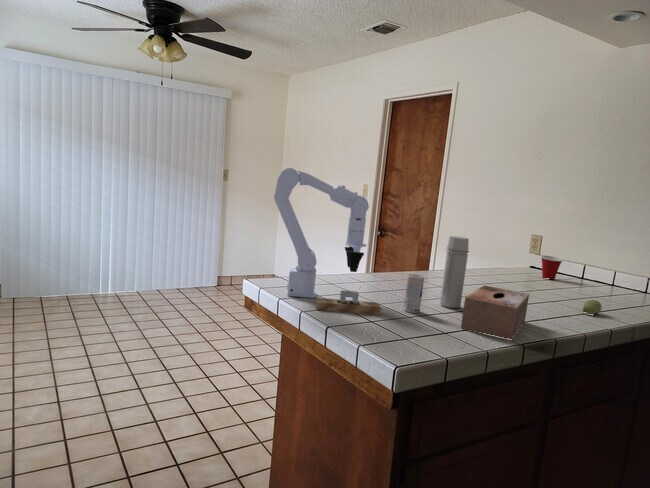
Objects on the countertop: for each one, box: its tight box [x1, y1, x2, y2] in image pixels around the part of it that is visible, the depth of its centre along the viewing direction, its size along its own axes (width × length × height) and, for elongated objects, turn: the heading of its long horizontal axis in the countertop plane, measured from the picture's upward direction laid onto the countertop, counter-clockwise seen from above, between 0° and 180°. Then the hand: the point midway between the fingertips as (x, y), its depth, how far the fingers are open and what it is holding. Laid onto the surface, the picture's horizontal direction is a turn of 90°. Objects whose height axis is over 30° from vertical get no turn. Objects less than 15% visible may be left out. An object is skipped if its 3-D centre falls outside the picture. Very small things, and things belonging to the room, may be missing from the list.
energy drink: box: [403, 273, 425, 314], centre depth 149 cm, size 5×5×12 cm
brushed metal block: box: [339, 289, 360, 305], centre depth 143 cm, size 6×2×6 cm, turn 93°
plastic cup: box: [540, 255, 564, 280], centre depth 242 cm, size 11×11×12 cm
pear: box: [581, 299, 603, 315], centre depth 172 cm, size 6×5×10 cm
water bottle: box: [439, 235, 470, 309], centre depth 159 cm, size 9×8×25 cm
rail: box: [315, 297, 382, 316], centre depth 143 cm, size 20×5×2 cm, turn 93°
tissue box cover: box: [460, 284, 530, 339], centre depth 142 cm, size 26×14×10 cm, turn 148°
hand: (351, 269), depth 157 cm, fingers open, 7 cm apart
